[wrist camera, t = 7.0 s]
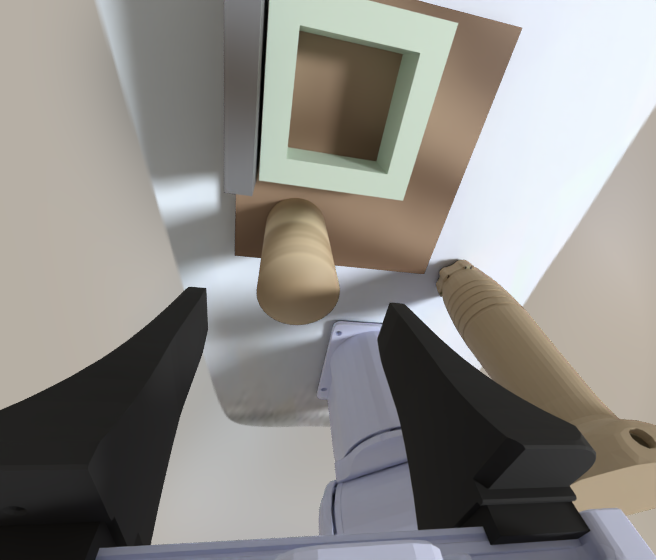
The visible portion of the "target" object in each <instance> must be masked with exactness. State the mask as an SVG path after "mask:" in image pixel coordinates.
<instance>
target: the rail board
mask: <svg viewBox="0 0 656 560" xmlns="http://www.w3.org/2000/svg"><path fill="white" fill-rule="evenodd" d="M369 1H373V2H377V3H381V4H385V5H389V6H393V7H397V8H401V9H405V10H409V11H412V12H416V13H420V14H424V15H428V16H432V17H436V18H440V19H444V20H448V21H452V22H456V23H458V26H457V29H456V32H455V36H454V39H453V42H452V45H451V48H450V52H449V55H448V58H447V61H446V64H445V68H444V71H443V74H442V77H441V80H440V84H439V87H438V90H437V93H436V97H435V100H434V103H433V106H432V109H431V113H430V116H429V119H428V122H427V125H426V129H425V132H424V135H423V138H422V141H421V145H420V148H419V151H418V154H417V158H416V161H415V164H414V167H413V170H412V174H411V177H410V180H409V183H408V186H407V190H406V193H405V196H404V199H403V201H401V200H394V199H387V198H380V197H373V196H366V195H359V194H352V193H345V192H338V191H330V190H323V189H316V188H309V187H302V186H295V185H288V184H281V183H274V182H267V181H259V171H260V153H261V136H262V118H263V101H264V83H265V66H266V49H267V31H268V14H269V0H224V193H231V194H236V218H235V256H245V257H255V258H261V256H262V249H263V242H264V235H265V228H266V221H267V217H268V214H269V212H270V211H271V209H272V208H273V207H274V206H275V205H276V204H277V203H279V202H280V201H283V200H285V199H289V198H302V199H305V200H308V201H310V202H312V203H313V204H315V205H316V206H317V207H318V208H319V209H320V211H321V212H322V214H323V217H324V220H325V224H326V229H327V233H328V238H329V242H330V247H331V251H332V256H333V260H334V265H337V266H347V267H357V268H367V269H377V270H387V271H397V272H408V273H418V274H424V273H425V270H426V268H427V265H428V263H429V260H430V258H431V255H432V253H433V250H434V248H435V245H436V243H437V240H438V238H439V235H440V233H441V230H442V228H443V225H444V223H445V220H446V218H447V215H448V213H449V210H450V208H451V205H452V203H453V200H454V198H455V195H456V193H457V190H458V188H459V185H460V183H461V180H462V178H463V175H464V173H465V170H466V168H467V165H468V163H469V160H470V158H471V155H472V153H473V150H474V148H475V145H476V143H477V140H478V138H479V135H480V133H481V130H482V128H483V125H484V123H485V120H486V118H487V115H488V113H489V110H490V108H491V105H492V103H493V100H494V98H495V95H496V93H497V90H498V88H499V85H500V83H501V80H502V78H503V75H504V73H505V70H506V68H507V65H508V63H509V60H510V58H511V55H512V53H513V50H514V48H515V45H516V43H517V40H518V38H519V35H520V33H521V30H522V28H521V27H517V26H513V25H510V24H506V23H502V22H498V21H494V20H490V19H487V18H483V17H479V16H475V15H471V14H468V13H464V12H460V11H456V10H452V9H448V8H445V7H441V6H437V5H433V4H429V3H426V2H422V1H418V0H369ZM402 56H403V54H400V53H396V52H391V51H387V50H383V49H378V48H374V47H369V46H365V45H361V44H356V43H352V42H347V41H343V40H339V39H334V38H330V37H326V36H321V35H317V34H312V33H308V32H304V31H299V39H298V49H297V59H296V69H295V79H294V89H293V99H292V109H291V119H290V129H289V139H288V147H290V148H296V149H302V150H308V151H314V152H321V153H327V154H333V155H339V156H345V157H352V158H358V159H364V160H370V161H377V157H378V153H379V149H380V144H381V140H382V136H383V132H384V128H385V124H386V120H387V116H388V112H389V108H390V104H391V100H392V96H393V92H394V88H395V84H396V80H397V76H398V72H399V68H400V64H401V60H402Z"/></svg>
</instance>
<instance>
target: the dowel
mask: <svg viewBox="0 0 656 560" xmlns="http://www.w3.org/2000/svg"><path fill="white" fill-rule="evenodd" d="M339 294H340V288H339V283H338V278H337V274H336V269H335V265H334V260H333V256H332V251H331V247H330V242H329V238H328V233H327V229H326V224H325V220H324V217H323V214H322V212H321V211H320V209H319V208H318V207H317V206H316V205H315V204H313V203H312V202H310V201H308V200H305V199H302V198H289V199H285V200H283V201H280V202H279V203H277V204H276V205H275V206H274V207H273V208H272V209H271V211H270V212H269V214H268V217H267V221H266V228H265V235H264V242H263V249H262V256H261V263H260V270H259V277H258V284H257V299H258V302H259V305H260V306H261V308H262V309H263V311H264V312H265V313H266V314H267V315H269V316H270V317H271V318H273V319H275V320H277V321H279V322H282V323H285V324H290V325H304V324H309V323H313V322H316V321H318V320H320V319H322V318H324V317H325V316H326V315H328V314H329V313H330V312H331V311H332V310H333V308H334V307H335V306H336V304H337V302H338V299H339Z"/></svg>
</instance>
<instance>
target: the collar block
mask: <svg viewBox="0 0 656 560" xmlns="http://www.w3.org/2000/svg"><path fill="white" fill-rule="evenodd" d="M457 26H458V23H456V22H452V21H448V20H444V19H440V18H436V17H432V16H428V15H424V14H420V13H416V12H412V11H409V10H405V9H401V8H397V7H393V6H389V5H385V4H381V3H377V2H373V1H369V0H269V14H268V31H267V49H266V66H265V83H264V101H263V118H262V136H261V153H260V171H259V181H267V182H274V183H281V184H288V185H295V186H302V187H309V188H316V189H323V190H330V191H338V192H345V193H352V194H359V195H366V196H373V197H380V198H387V199H394V200H401V201H403V199H404V196H405V193H406V190H407V186H408V183H409V180H410V177H411V174H412V170H413V167H414V164H415V161H416V158H417V154H418V151H419V148H420V145H421V141H422V138H423V135H424V132H425V129H426V125H427V122H428V119H429V116H430V113H431V109H432V106H433V103H434V100H435V97H436V93H437V90H438V87H439V84H440V80H441V77H442V74H443V71H444V68H445V64H446V61H447V58H448V55H449V52H450V48H451V45H452V42H453V39H454V36H455V32H456V29H457ZM299 31H304V32H308V33H312V34H317V35H321V36H326V37H330V38H334V39H339V40H343V41H347V42H352V43H356V44H361V45H365V46H369V47H374V48H378V49H383V50H387V51H391V52H396V53H400V54H403V56H402V60H401V64H400V68H399V72H398V76H397V80H396V84H395V88H394V92H393V96H392V100H391V104H390V108H389V112H388V116H387V120H386V124H385V128H384V132H383V136H382V140H381V144H380V149H379V153H378V157H377V161H370V160H364V159H358V158H352V157H345V156H339V155H333V154H327V153H321V152H314V151H308V150H302V149H296V148H290V147H288V139H289V129H290V119H291V109H292V99H293V89H294V79H295V69H296V59H297V49H298V39H299Z"/></svg>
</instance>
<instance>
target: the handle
mask: <svg viewBox="0 0 656 560" xmlns="http://www.w3.org/2000/svg"><path fill="white" fill-rule="evenodd" d="M439 274H440V277H439V280H438V281H437V282H436V287H437V290H438V293H439V295H440V297H442V296H443V301H444V304H445V306H446V309H447V311H448V313H449V315H450V318H451V319H452V321H453V323H454V325H455V327H456V329H457V331H458V332H459V334H460V335H461V337H462V339H463V340H464V342H465V343H466V345H467V346H468V348H469V349H470V350H471V352H472V353H473V354H474V356H475V357H476V358H477V360H478V361H479V362H480V364H481V365H482V366H483V368H484V369H485V371H486V372H487V373H488V375H489V376H490V377H491V379H492V380H493V381H495V382H496V383H498V384H499V385H501V386H502V387H504V388H506V389H507V390H509V391H510V392H512V393H514V394H515V395H517V396H519V397H520V398H522V399H524V400H526V401H528V402H529V403H531V404H533V405H535V406H537V407H538V408H540V409H542V410H544V411H546V412H548V413H550V414H552V415H554V416H556V417H558V418H561V419H563V420H565V421H567V422H569V423H571V424H573V425H575V426H576V427H577V428H578V430H579V431H580V432H581V433H582V435H583V436H584V437H585V439H586V440H587V441H588V443H589V444H590V445H591V446H592V448H593V449H594V450H595V452H596V461H595V462H594V464H593V466H592V467H591V468H590V469H589V470H588V471H587V472H586V473H584V474H583V475H582V476H581V477H580V478H578V479H577V480H576V481H575V482H574V483H572V484H571V485H570V487H571V489H572V490H573V492H574V493H575V495H576V497H577V500H575V501H572V503H573V504H574V506H575V507H576V509H577V510H578V512H581V511H584V510H588V509H602V508H619V509H621V510H622V511H623V513H624V514H625V515H626V516H627V515H631V514H635V513H639V512H643V511H647V510H651V509H654V508H656V425H653V424H649V423H645V422H641V421H637V420H625V419H619V418H618V417H617V416H616V415H615V414H614V413H613V412H612V411H611V410H610V409H609V408H608V407H607V406H606V405H605V404H604V403H603V402H602V401H601V400H600V399H599V398H598V397H597V396H596V395H595V393H593V391H592V390H591V389H590V387H589V386H588V385H587V384H586V383H585V381H584V380H583V379H582V378H581V377H580V376H579V374H578V373H577V372H576V371H575V370H574V368H573V367H572V366H571V365H570V364H569V363H568V361H567V360H566V359H565V358H564V356H563V355H562V354H561V353H560V352H559V350H558V349H557V348H556V347H555V346H554V344H553V343H552V342H551V341H550V339H549V338H548V337H547V336H546V335H545V333H544V332H543V331H542V330H541V328H540V327H539V326H538V325H537V324H536V322H535V321H534V320H533V319H532V318H531V316H530V315H529V314H528V312H526V310H525V309H524V308H523V307H522V306H521V305H520V304H519V303H518V302H517V301H516V300H515V299H514V298H513V297H512V296H511V295H510V294H509V293H508V292H507V291H506V290H505V289H504V288H503V287H501V286H500V285H499V284H498V283H497V282H496V281H494V280H493V279H492V278H490V277H489V276H487V275H486V274H485V273H483V272H482V271H480V270H479V269H478V268H476V267H474V266H473V265H472V264H470V263H469V262H468V261H466V260H459V261H456V262H455V263H454V264H452V265H451V266H448V267H443V268H442V269H441V270H440V272H439Z"/></svg>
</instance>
